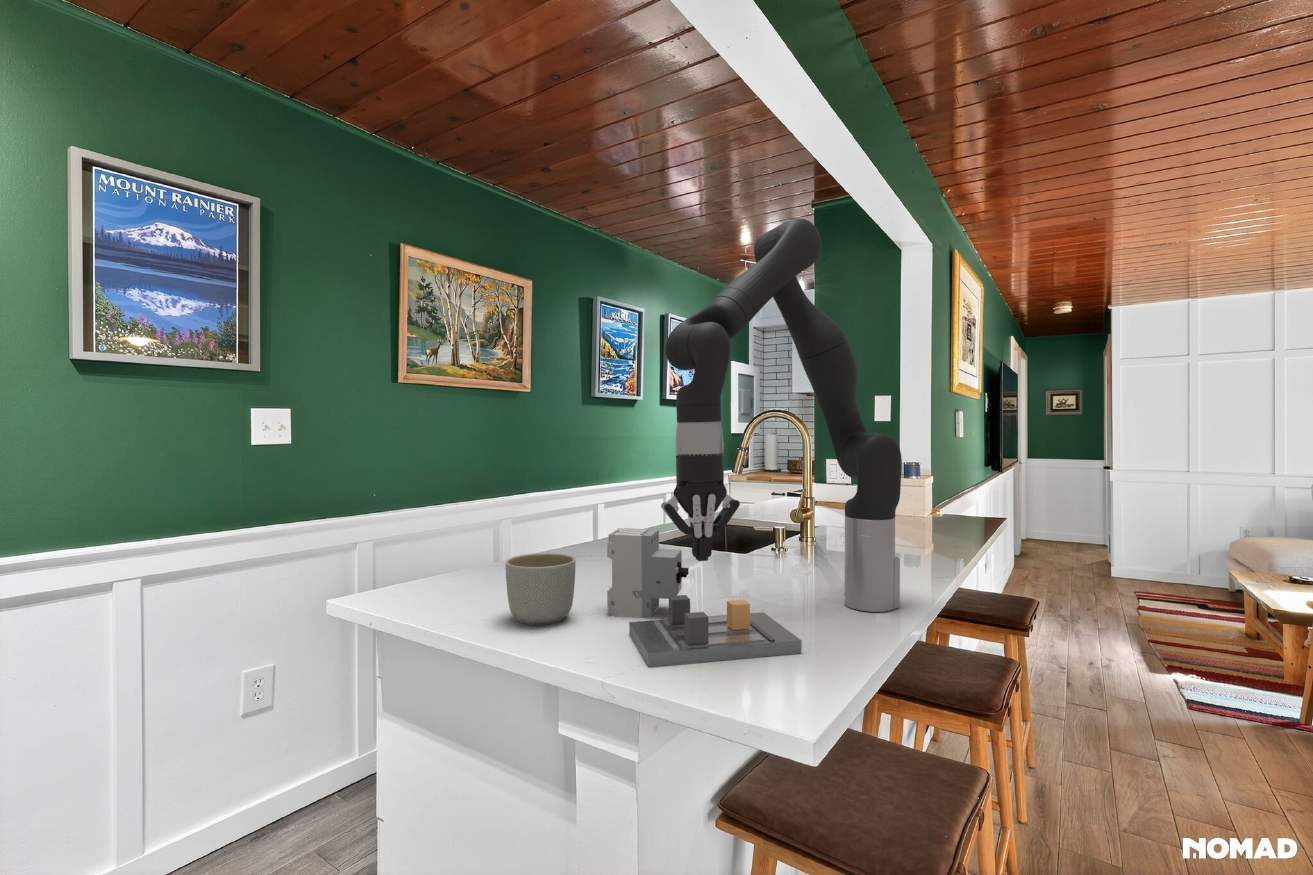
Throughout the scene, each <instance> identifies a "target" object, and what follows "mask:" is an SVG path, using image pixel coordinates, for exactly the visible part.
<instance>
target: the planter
mask: <svg viewBox="0 0 1313 875" xmlns="http://www.w3.org/2000/svg"><path fill="white" fill-rule="evenodd" d="M504 565H505V566H504V567H505V583H506V593H507V602H508V608H509V611H510V614H511V615H512V616H513V618H515V619H516V620H518V621H519V623H522V624H525V625H528V626H545V625H546V626H547V625H551V624H552V625H553V624H555V623H558V622H560V621H561V620H563V619H564V618H566V616H568V614H569V613H570V611H571V610H572V607H573V604H574V594H575V583H576V567H577V566H576V565H577V563H576V557H574V556H573V555H570V554H565V553H556V552H539V553H538V552H537V553H527V554H520V555H516V556H513V557H510V558H507V559H506V560H505V564H504Z"/></svg>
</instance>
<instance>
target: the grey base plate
mask: <svg viewBox="0 0 1313 875" xmlns="http://www.w3.org/2000/svg"><path fill="white" fill-rule="evenodd" d="M707 616H708V643H707V644H695V645H689V644H688V643H687V642H686V640H685V624H672V623H671V622H670V621H669V618H668V619H655V620H642V621H640V620H639V621H630V622H628V623H629V624H628V626H629V628H628V629H629V630H628V631H629V632H628V633H629V634H628V635H629V636H630V638H631V640H632V641H633V643H634V645H635V646H636V648H637V650H638V651H639V652H638V653H639V654H640V655H641V657H642V659H643V661H644V663H645V664H646V666H647V668H654V667H665V666H674V665H685V664H700V663H711V662H720V661H729V660H731V661H732V660H741V659H742V660H743V659H754V658H764V657H774V656H775V657H776V656H778V657H779V656H786V655H787V656H789V655H799V654H802V646H803V645H802V639H800V638H799V637H797V635H795V634H794V633H792V632H791V631H790V630H788V629H787V628H786V627H784V626H783V625H781V624H780V623H778V622H777V621H776V620H774V619H773V618H772V617H771V616H769V615H768V614H767V613H765V612H764V611H763V612H752V613H751V612H750V629H740V630H732V629H731V628H729V627H728V626H727V614H723V615H721V614H720V615H712V616H711V615H710V616H709V615H707Z"/></svg>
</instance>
